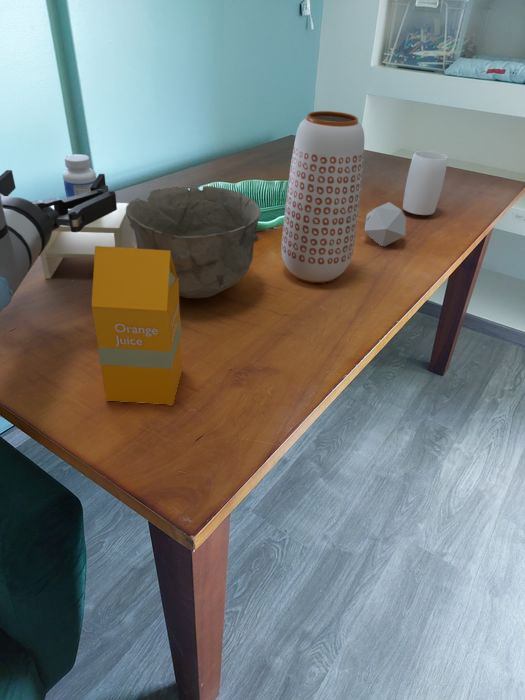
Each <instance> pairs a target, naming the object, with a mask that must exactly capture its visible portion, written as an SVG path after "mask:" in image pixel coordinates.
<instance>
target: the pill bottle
mask: <svg viewBox="0 0 525 700" xmlns="http://www.w3.org/2000/svg"><path fill="white" fill-rule="evenodd" d="M64 165H65V167H66V169H65V170H64V171H63V173H62V180H63V185H64V191H65V198H68V197H72V196H75V195H79V194H83V193H86V192H90V191H91V189H90V187H91V186H92V184H93V183H94V181H95V180H96V178H97V173H96V171H95V170H94V169H92V168H90V167H91V160H90V156H89V155H86V154H82V153H81V154H80V153H74V154H68V155H66V156H65V157H64Z"/></svg>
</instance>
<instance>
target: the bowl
mask: <svg viewBox="0 0 525 700" xmlns="http://www.w3.org/2000/svg"><path fill="white" fill-rule="evenodd" d="M128 203H129V204H128V205H127V206H126V215H127V217H128V219H129V221H130V223H131V224H130V226H131V227H132V228H133V233H134V235H135V241H136V242H135V243H136V249H152V250H168V251H170V253H171V256H172V260H173V264H174V268H175V271H176V275H177V278H178V284H179V297H182V298H186V299H205V298H211V297H213V296H216V295H217V294H219V293H221V292H223V291H226V290H227V289H229V288H231V287H233V286H234V285H236V283H238V282H239V281H240V280H241V279H242V278H243V277H244V276H245V274H247V271H248V270H249V268H250V267H251V265H252V262H253V259H254V244H255V243H256V242H259V236H258V235H257V234H256V231H257V227H258V223H259V220H260V218H261V215H262V211H261V207H260V206H259V204H258V203H257V202H256V201H255V200H254V199H252V198H251V197H249V196H247V195H245V194H243V193H241V192H239V191H235V190H231V189H228V188H224V187H216V186H210V185H204V186H202V190H201V189H200V188H199V187H197V186H190V187H189V189H188V187H181V186H180V187H179V186H168V187H164V188H157V189H153V190H150V191H149V194H148V197H147V198H146V200H143V199H141V198H139V197H136V198H135V199H132V200H131V201H129V202H128Z"/></svg>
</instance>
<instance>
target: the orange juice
mask: <svg viewBox="0 0 525 700" xmlns="http://www.w3.org/2000/svg"><path fill="white" fill-rule="evenodd" d="M91 292H92V293H91V308H92V309H91V310H92V316H93V323H94V329H95V337H96V343H97V352H98V358H99V365H100V367H101V375H102V382H103V389H104V394H105V395H104V396H105V401H106V400H109V401H110V400H112V401H123V402H124V401H125V402H127V401H128V402H145V403H155V404H156V403H158V404H168V405H167V406H170V405H169V404H172V405H173V403H174V404H175V401H176V397H175V395H176V396H177V393H178V389H179V385H180V381H181V378H180V377H182V374H181V373H183V359H182V358H183V356H182V355H183V354H182V324H181V311H180V309H181V307H180V296H179V284H178V278H177V275H176V271H175V268H174V264H173V260H172V256H171V253H170V251H168V250H152V249H137V247H136V248H135V247H134V248H120V247H103V246H95V258H93V278H92V291H91ZM179 380H180V381H179ZM178 384H179V385H178ZM177 388H178V389H177ZM176 392H177V393H176ZM174 400H175V401H174ZM155 404H154V405H155ZM173 406H174V405H173Z"/></svg>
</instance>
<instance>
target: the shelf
mask: <svg viewBox="0 0 525 700" xmlns="http://www.w3.org/2000/svg"><path fill="white" fill-rule="evenodd" d="M116 204H117V210H116V211H114V212H112V213H110V214H108V215H106V216H104V217H102V218H100V219H98V220H96V221H94V222H92V223H90V224H88V225H86V226H84V227H83V229H82V230H81V231H80V232H71V228H70V226H62V225H61V226H60V227H59V228H57V229H55V230H53V231H52V234H51V237H50V240H49V242H48V244H47V245H46V247H45V248H44V250H43V251H42V253H41V254H40V255H39V257H40V261H41V265H42V270H43V275H44V279H51V278H52V277H53V275H54V273H55V272H56V270H57V269H58V268H59V265H60V264H61V262H62V260H63V259H64V258H68V259H69V258H71V259H72V258H73V259H94V258H95V246H103V247H120V248H135V240H134V229H133V228H132V227H131V226H130V224H131V223H130V221H129V219H128V217H127V215H126V206H127V205H128V204H129V202H116ZM50 207H52V208H53V209H54V205H53V206H50Z"/></svg>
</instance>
